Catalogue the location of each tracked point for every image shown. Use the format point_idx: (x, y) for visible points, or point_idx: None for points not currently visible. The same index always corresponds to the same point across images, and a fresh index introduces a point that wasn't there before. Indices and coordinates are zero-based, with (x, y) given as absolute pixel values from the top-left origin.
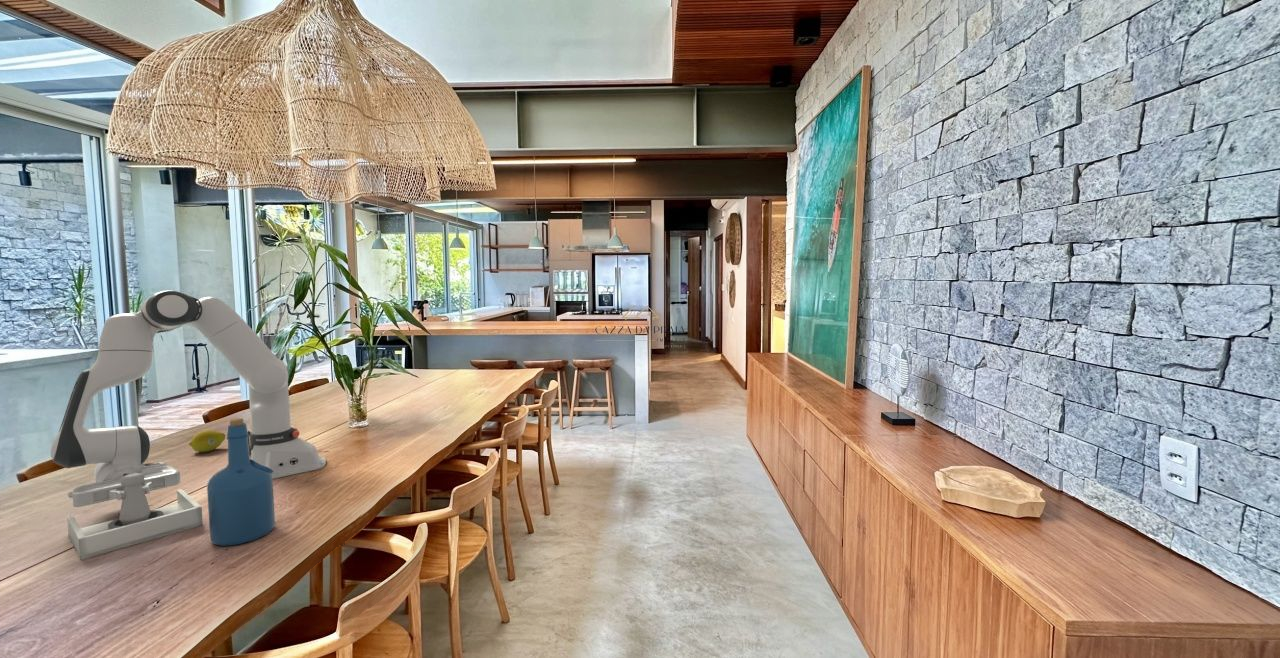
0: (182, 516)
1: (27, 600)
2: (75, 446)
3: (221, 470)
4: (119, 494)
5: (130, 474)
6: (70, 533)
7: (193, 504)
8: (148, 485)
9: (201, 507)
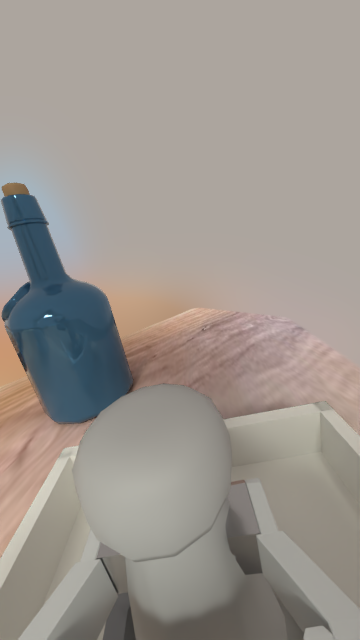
0: None
1: (326, 357)
2: None
3: (72, 283)
4: (251, 479)
5: (151, 431)
6: None
7: (50, 489)
8: (77, 562)
9: (65, 449)
